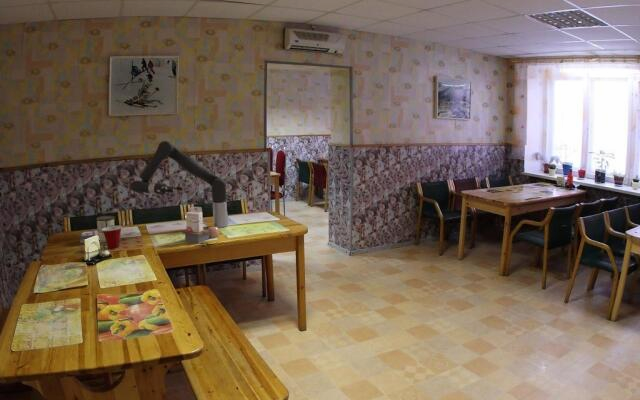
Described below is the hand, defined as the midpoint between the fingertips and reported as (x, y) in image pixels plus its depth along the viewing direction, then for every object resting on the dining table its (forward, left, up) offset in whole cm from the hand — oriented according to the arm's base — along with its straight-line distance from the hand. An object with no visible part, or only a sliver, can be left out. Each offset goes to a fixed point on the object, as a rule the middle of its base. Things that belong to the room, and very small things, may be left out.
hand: (177, 189), depth 291 cm
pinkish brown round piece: (-6, +22, -29) cm, 37 cm away
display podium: (+5, +18, -29) cm, 35 cm away
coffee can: (+27, -33, -30) cm, 52 cm away
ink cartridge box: (+6, +17, -24) cm, 30 cm away
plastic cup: (+38, -16, -30) cm, 51 cm away
